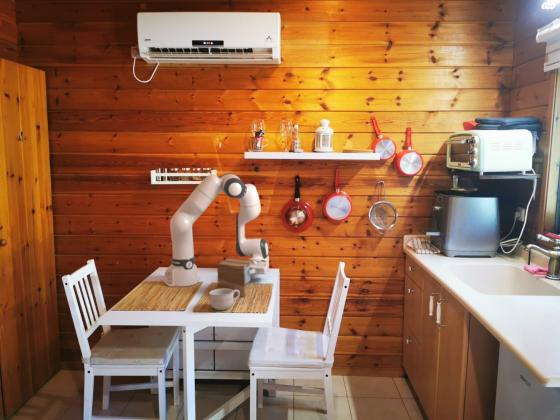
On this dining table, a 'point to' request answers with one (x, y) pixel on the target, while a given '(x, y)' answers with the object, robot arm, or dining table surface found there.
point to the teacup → (222, 298)
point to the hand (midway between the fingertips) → (244, 272)
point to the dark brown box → (233, 275)
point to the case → (247, 275)
